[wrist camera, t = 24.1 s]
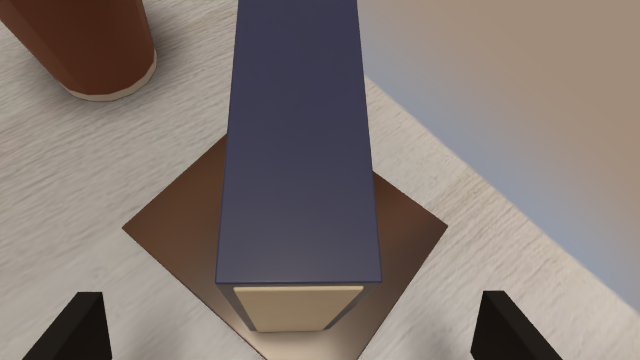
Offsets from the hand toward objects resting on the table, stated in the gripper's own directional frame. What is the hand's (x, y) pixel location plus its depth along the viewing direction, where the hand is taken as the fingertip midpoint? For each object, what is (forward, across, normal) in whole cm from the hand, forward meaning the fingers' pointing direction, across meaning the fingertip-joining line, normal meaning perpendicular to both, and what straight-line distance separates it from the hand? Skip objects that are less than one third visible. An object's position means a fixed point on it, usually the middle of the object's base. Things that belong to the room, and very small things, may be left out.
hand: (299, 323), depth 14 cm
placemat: (+9, 0, -1) cm, 9 cm away
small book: (+9, 0, -1) cm, 9 cm away
